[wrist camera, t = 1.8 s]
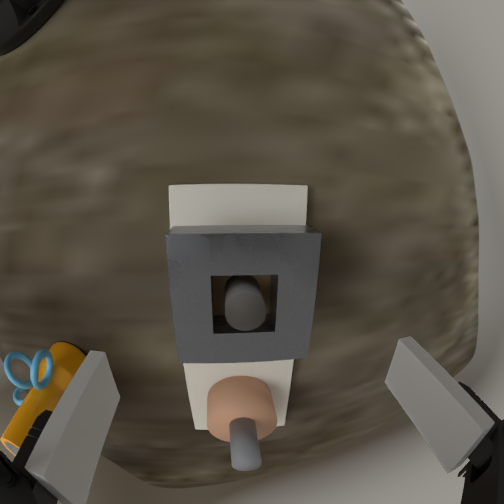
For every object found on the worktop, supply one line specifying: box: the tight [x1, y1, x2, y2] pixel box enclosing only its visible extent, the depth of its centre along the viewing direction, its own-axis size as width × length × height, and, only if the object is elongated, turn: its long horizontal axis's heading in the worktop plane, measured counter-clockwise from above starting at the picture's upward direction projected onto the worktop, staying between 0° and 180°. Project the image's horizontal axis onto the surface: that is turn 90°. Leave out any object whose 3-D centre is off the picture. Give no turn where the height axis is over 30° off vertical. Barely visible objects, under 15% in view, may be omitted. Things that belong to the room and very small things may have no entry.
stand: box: [212, 275, 271, 331], centre depth 19 cm, size 6×6×8 cm
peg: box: [207, 376, 277, 471], centre depth 23 cm, size 7×7×9 cm
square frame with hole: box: [166, 225, 322, 363], centre depth 18 cm, size 9×9×2 cm
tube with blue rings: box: [1, 342, 86, 456], centre depth 18 cm, size 12×10×15 cm
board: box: [169, 184, 308, 430], centre depth 26 cm, size 28×11×1 cm, turn 179°
